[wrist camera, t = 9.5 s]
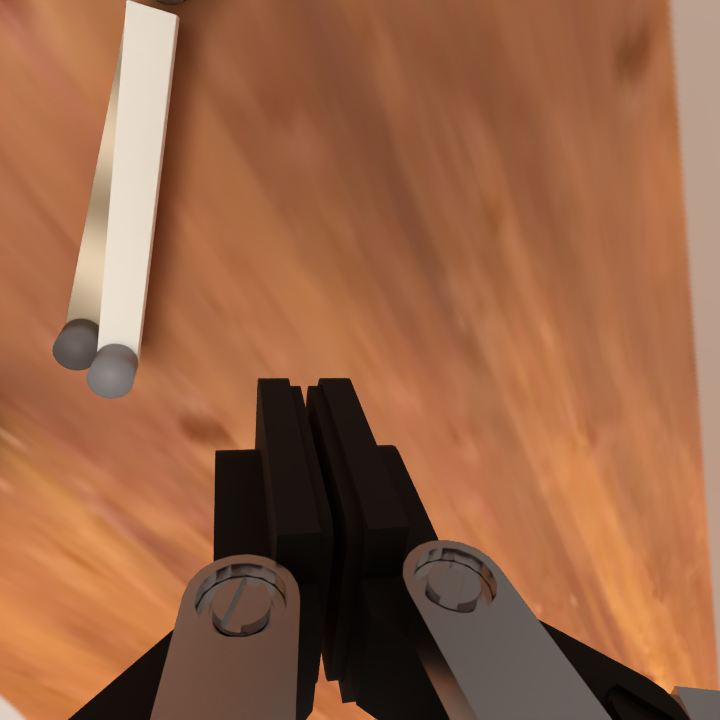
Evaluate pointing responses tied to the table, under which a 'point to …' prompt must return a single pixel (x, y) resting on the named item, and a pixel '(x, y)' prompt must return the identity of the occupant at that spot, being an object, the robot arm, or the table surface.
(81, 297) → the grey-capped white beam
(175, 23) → the tongs moving jaw
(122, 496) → the table surface
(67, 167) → the table surface
